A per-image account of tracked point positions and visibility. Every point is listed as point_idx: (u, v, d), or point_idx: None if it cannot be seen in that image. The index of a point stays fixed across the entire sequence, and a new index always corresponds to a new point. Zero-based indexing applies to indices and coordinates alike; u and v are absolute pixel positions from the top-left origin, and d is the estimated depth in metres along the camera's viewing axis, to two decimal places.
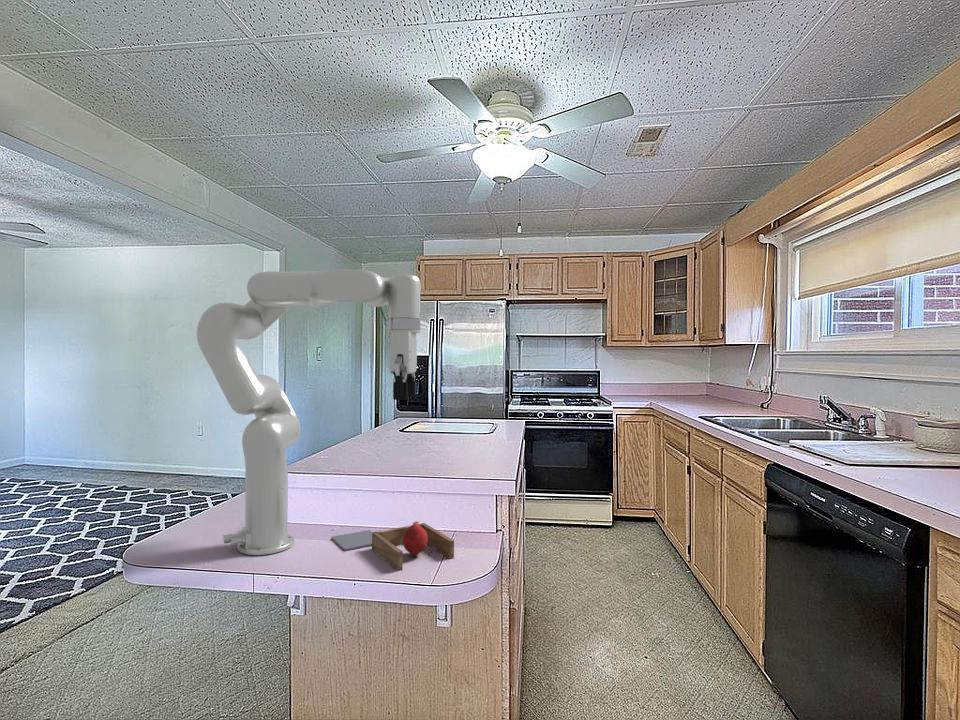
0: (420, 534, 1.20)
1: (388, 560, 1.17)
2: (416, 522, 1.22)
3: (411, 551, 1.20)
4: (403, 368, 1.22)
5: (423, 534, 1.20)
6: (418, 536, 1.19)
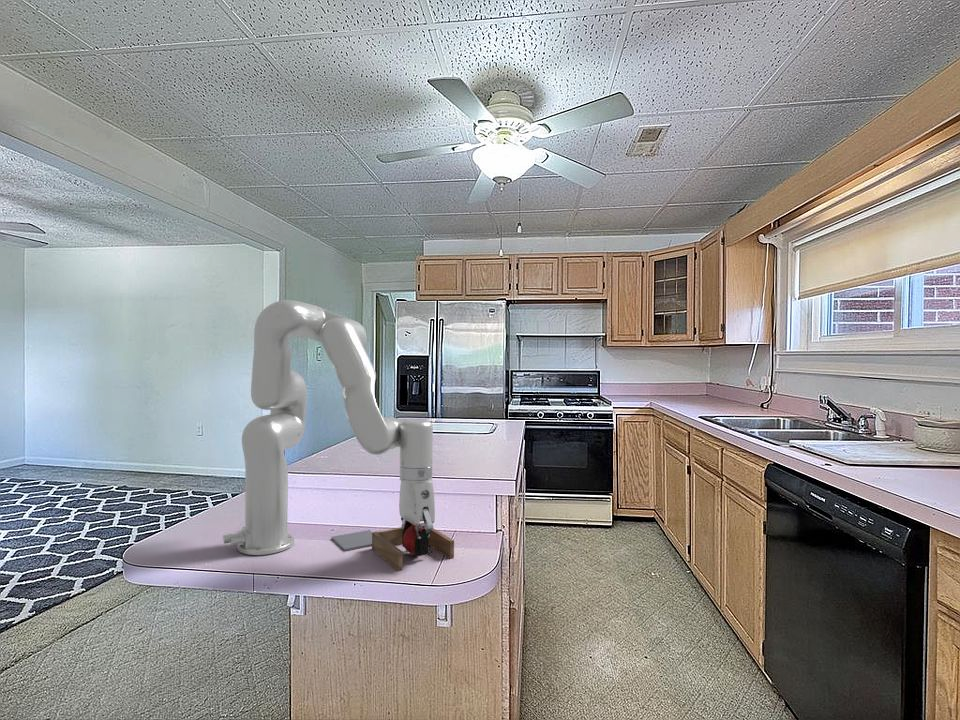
0: None
1: (388, 560, 1.17)
2: None
3: (411, 551, 1.20)
4: None
5: None
6: None
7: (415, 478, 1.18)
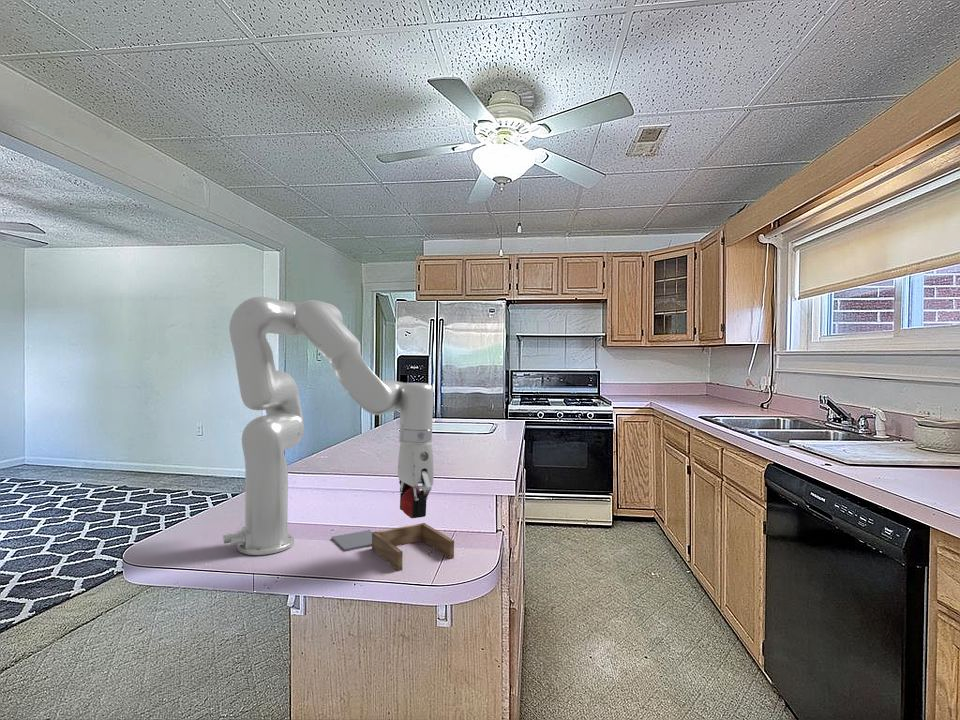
0: None
1: (388, 560, 1.17)
2: None
3: (409, 513, 1.20)
4: None
5: None
6: None
7: (415, 440, 1.18)
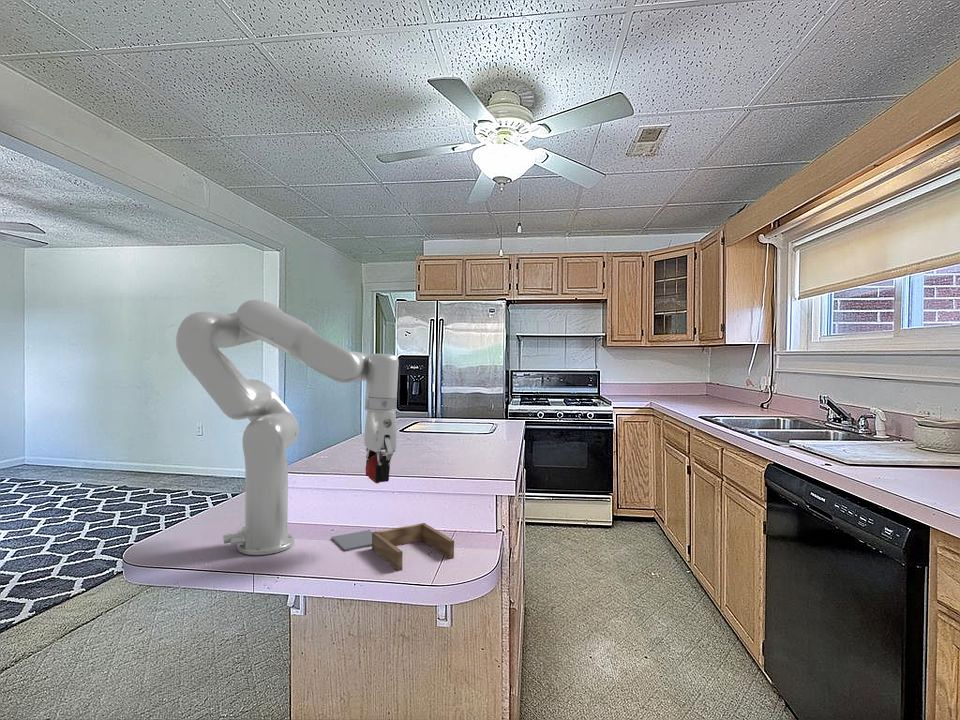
0: None
1: (388, 560, 1.17)
2: None
3: (373, 478, 1.25)
4: None
5: None
6: None
7: (378, 407, 1.23)
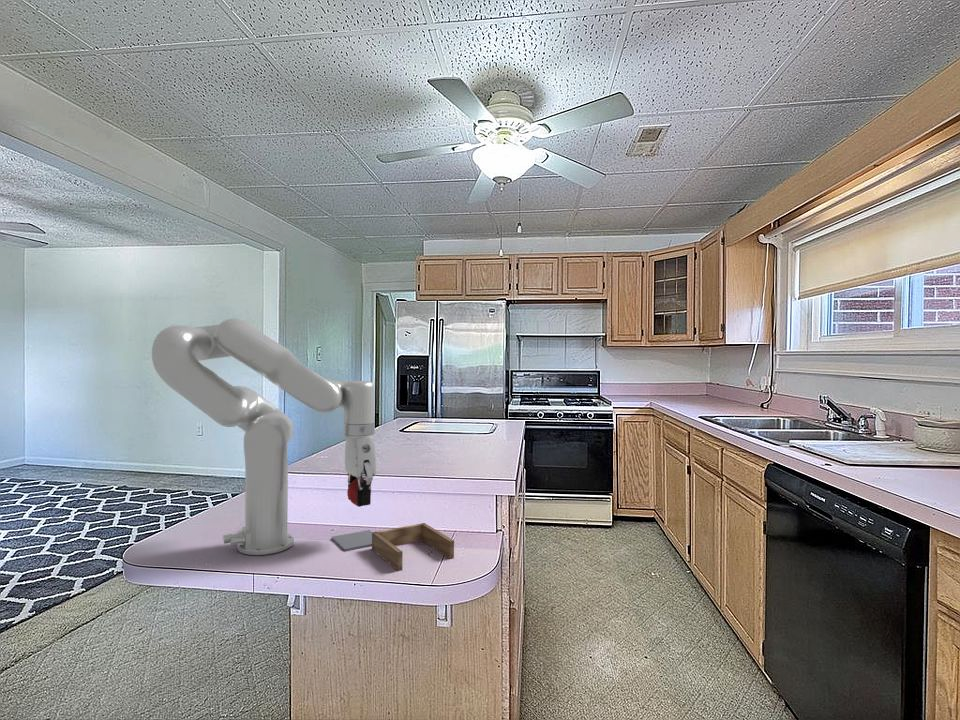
0: None
1: (388, 560, 1.17)
2: None
3: (355, 502, 1.29)
4: None
5: None
6: None
7: (356, 433, 1.27)
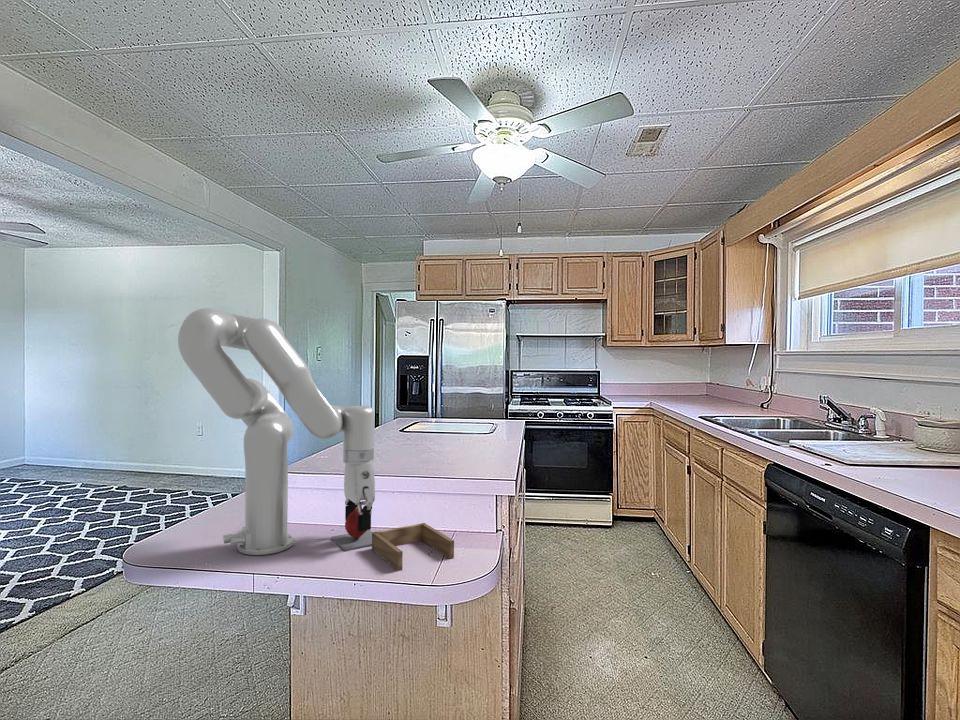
0: None
1: (388, 560, 1.17)
2: None
3: (352, 534, 1.29)
4: None
5: None
6: None
7: (356, 460, 1.27)
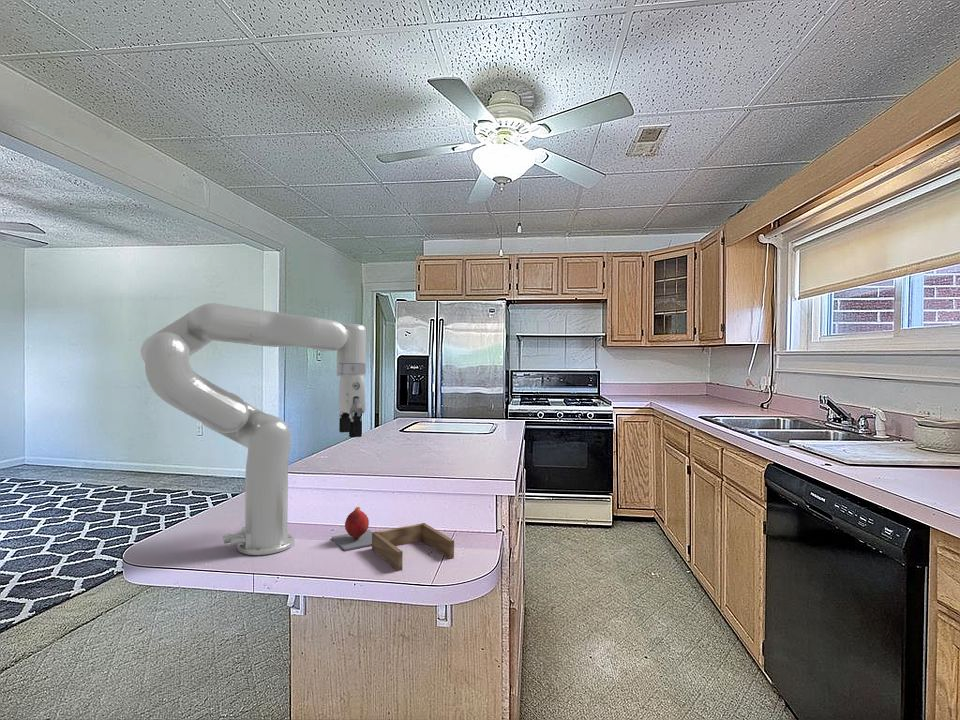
0: (361, 519, 1.29)
1: (388, 560, 1.17)
2: (358, 508, 1.31)
3: (352, 534, 1.29)
4: None
5: (364, 518, 1.30)
6: (358, 520, 1.29)
7: (347, 372, 1.35)
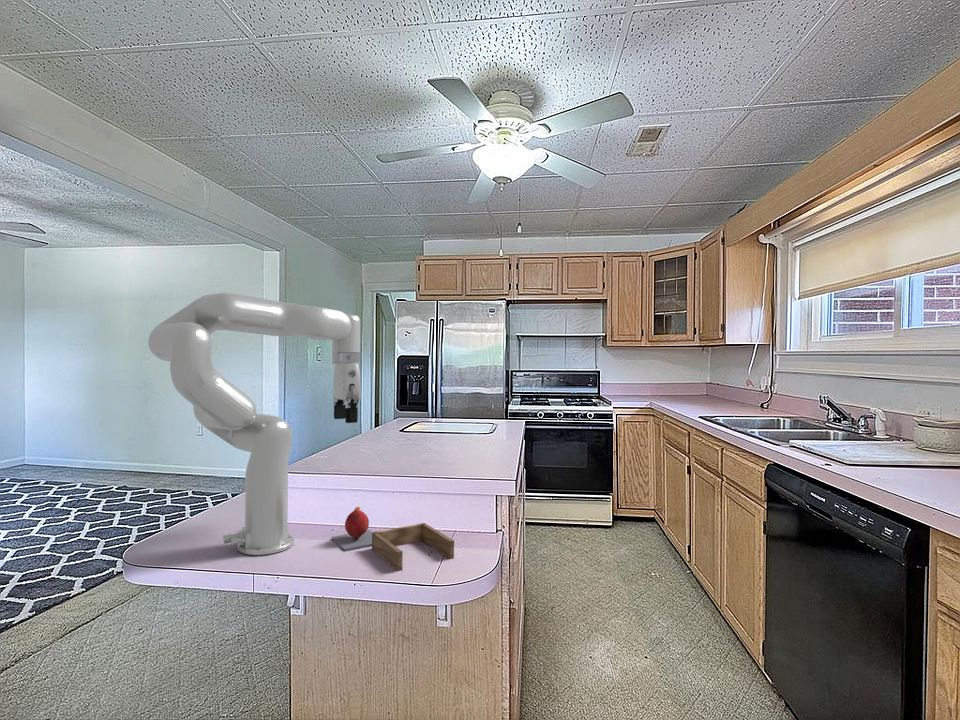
0: (361, 519, 1.29)
1: (388, 560, 1.17)
2: (358, 508, 1.31)
3: (352, 534, 1.29)
4: None
5: (364, 518, 1.30)
6: (358, 520, 1.29)
7: (343, 360, 1.41)
